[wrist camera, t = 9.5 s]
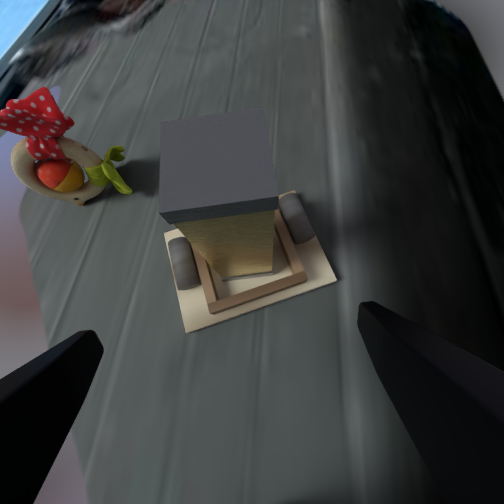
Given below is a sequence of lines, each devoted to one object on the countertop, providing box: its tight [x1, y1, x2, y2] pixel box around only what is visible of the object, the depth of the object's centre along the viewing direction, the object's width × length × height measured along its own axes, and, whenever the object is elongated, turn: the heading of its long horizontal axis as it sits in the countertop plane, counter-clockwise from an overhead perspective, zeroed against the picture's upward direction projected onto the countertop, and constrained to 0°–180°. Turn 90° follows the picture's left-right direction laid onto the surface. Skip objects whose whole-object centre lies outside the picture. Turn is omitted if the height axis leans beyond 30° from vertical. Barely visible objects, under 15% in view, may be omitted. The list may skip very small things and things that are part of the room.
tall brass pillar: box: [159, 107, 279, 282], centre depth 16 cm, size 5×5×13 cm
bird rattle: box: [0, 87, 132, 205], centre depth 22 cm, size 6×11×9 cm
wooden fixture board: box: [164, 190, 337, 333], centre depth 21 cm, size 10×14×3 cm
